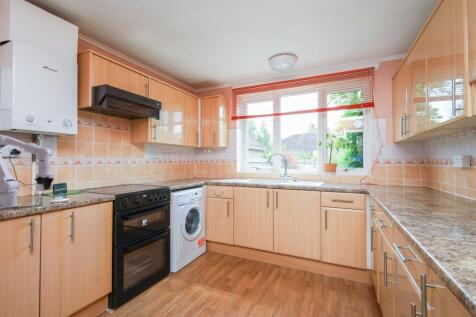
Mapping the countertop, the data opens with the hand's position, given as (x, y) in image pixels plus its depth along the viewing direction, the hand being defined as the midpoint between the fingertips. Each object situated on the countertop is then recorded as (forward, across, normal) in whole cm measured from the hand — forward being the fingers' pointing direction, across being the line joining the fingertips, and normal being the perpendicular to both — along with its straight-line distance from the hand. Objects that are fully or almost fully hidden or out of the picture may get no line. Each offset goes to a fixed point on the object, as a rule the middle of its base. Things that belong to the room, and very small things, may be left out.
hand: (44, 189), depth 140 cm
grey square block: (+1, 0, 0) cm, 1 cm away
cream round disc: (+10, +6, -10) cm, 15 cm away
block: (+10, 0, 0) cm, 10 cm away
